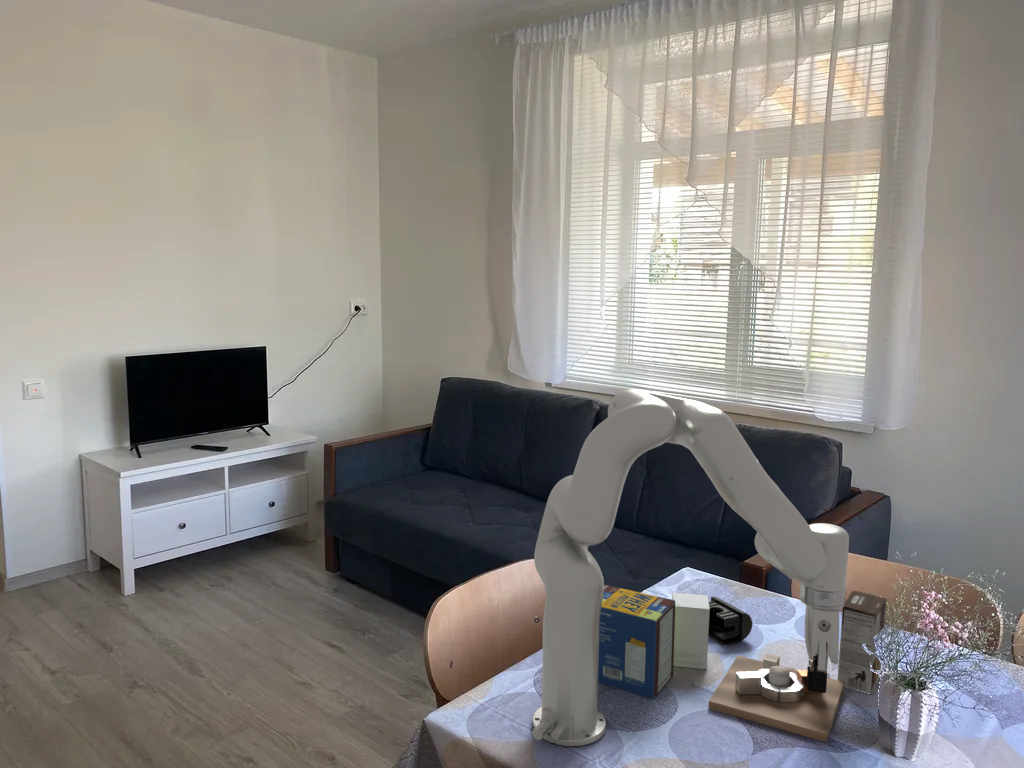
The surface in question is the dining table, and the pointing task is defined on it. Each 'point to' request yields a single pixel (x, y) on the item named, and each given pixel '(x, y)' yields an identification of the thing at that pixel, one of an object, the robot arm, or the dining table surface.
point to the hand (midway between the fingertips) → (816, 689)
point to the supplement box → (691, 630)
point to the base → (797, 717)
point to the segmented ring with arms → (759, 685)
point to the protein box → (636, 641)
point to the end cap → (727, 623)
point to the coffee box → (860, 640)
